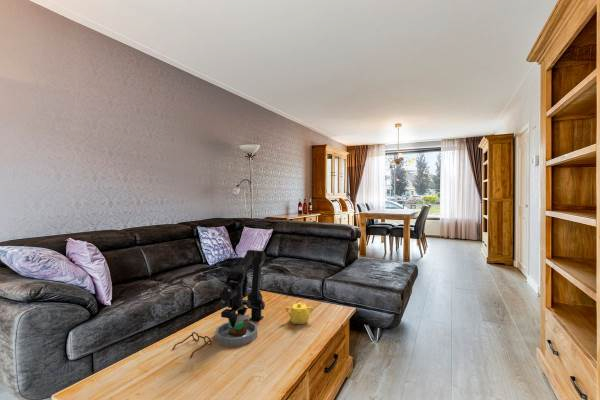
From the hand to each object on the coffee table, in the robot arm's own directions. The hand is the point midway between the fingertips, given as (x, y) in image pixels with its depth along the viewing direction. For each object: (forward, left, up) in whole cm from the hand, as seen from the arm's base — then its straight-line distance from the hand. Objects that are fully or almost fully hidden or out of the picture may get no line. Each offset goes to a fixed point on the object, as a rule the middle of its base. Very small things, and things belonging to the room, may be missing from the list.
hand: (236, 325), depth 151 cm
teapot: (-27, +24, -6) cm, 37 cm away
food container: (+1, 0, -5) cm, 5 cm away
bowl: (0, 0, -6) cm, 6 cm away
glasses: (+18, -13, -6) cm, 23 cm away
